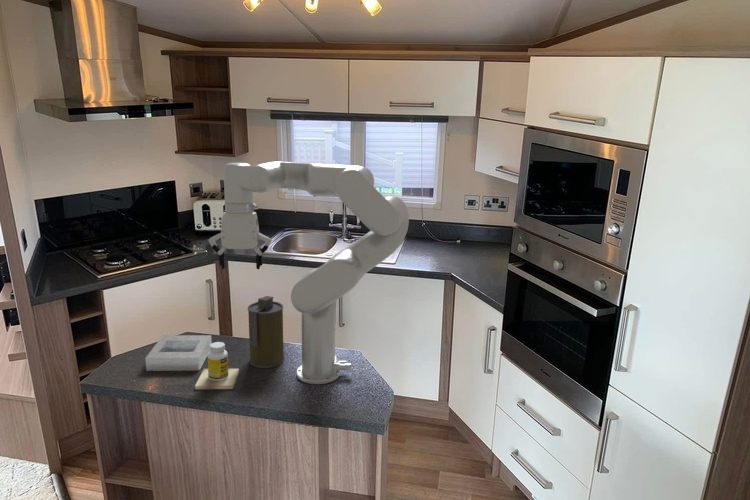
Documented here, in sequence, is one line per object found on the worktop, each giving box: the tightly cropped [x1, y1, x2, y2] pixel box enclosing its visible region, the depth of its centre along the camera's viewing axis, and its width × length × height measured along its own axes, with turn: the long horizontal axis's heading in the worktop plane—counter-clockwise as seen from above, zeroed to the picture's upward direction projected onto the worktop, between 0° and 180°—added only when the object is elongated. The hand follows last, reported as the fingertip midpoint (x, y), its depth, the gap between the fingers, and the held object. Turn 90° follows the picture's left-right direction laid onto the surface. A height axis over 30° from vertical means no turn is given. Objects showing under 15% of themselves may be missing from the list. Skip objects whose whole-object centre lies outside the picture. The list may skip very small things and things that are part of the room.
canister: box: [247, 295, 285, 369], centre depth 161 cm, size 11×10×20 cm
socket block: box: [144, 334, 213, 372], centre depth 163 cm, size 15×16×4 cm
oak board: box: [194, 368, 240, 390], centre depth 151 cm, size 10×10×1 cm
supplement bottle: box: [207, 341, 229, 381], centre depth 150 cm, size 5×5×10 cm
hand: (241, 267), depth 153 cm, fingers open, 9 cm apart
